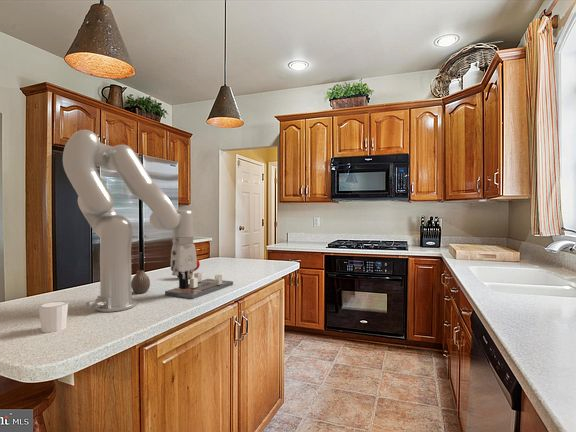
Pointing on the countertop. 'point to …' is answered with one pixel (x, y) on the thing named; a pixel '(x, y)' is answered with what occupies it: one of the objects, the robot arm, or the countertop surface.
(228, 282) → the switch panel
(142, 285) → the vase
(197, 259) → the light bulb
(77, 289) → the countertop surface
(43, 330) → the white cup
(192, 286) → the handle
